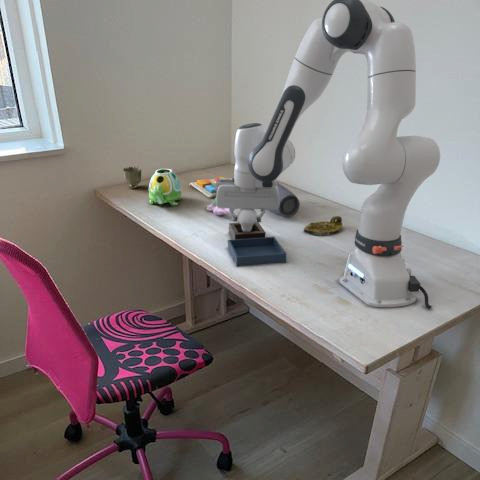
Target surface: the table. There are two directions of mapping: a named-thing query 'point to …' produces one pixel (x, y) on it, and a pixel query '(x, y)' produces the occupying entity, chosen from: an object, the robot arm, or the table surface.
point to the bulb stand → (238, 233)
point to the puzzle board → (206, 186)
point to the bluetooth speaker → (286, 202)
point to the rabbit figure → (217, 209)
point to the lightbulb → (247, 219)
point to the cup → (132, 176)
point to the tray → (256, 251)
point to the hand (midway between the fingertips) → (247, 221)
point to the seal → (325, 227)
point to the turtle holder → (164, 187)
